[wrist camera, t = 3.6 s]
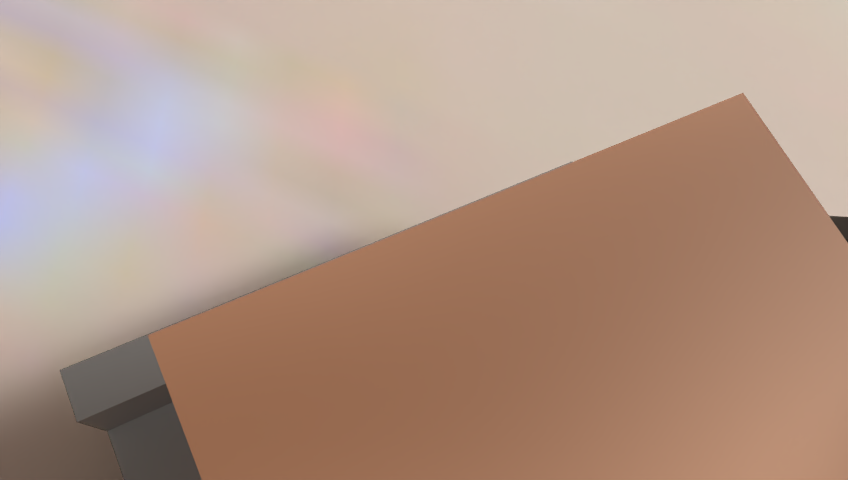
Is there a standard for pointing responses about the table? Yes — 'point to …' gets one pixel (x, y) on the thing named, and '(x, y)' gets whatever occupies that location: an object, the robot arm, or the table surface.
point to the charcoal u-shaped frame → (139, 406)
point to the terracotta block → (550, 332)
